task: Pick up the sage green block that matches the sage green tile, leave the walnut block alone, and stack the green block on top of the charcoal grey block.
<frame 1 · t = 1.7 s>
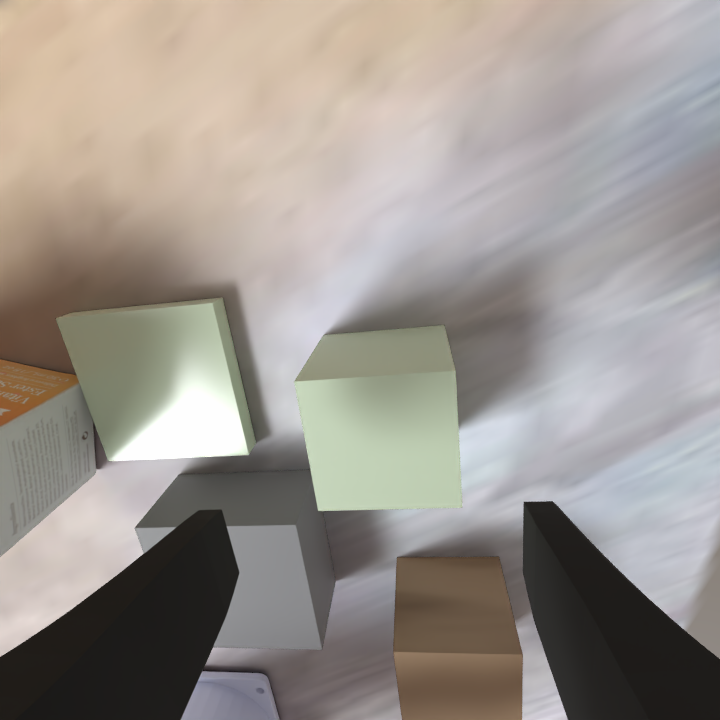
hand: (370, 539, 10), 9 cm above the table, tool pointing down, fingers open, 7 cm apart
sage green block: (388, 384, 19), on the table
walnut block: (449, 593, 23), on the table
charcoal base block: (261, 526, 23), on the table
small box: (23, 407, 22), on the table
sage green tile: (167, 380, 20), on the table
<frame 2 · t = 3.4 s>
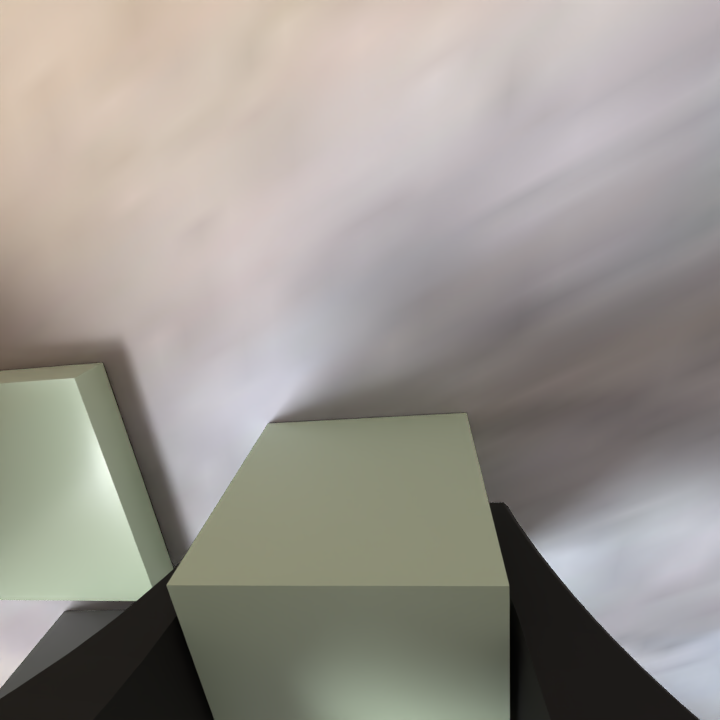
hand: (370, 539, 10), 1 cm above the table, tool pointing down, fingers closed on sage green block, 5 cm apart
sage green block: (374, 500, 12), on the table, touching gripper
charcoal base block: (192, 675, 16), on the table
sage green tile: (33, 482, 13), on the table
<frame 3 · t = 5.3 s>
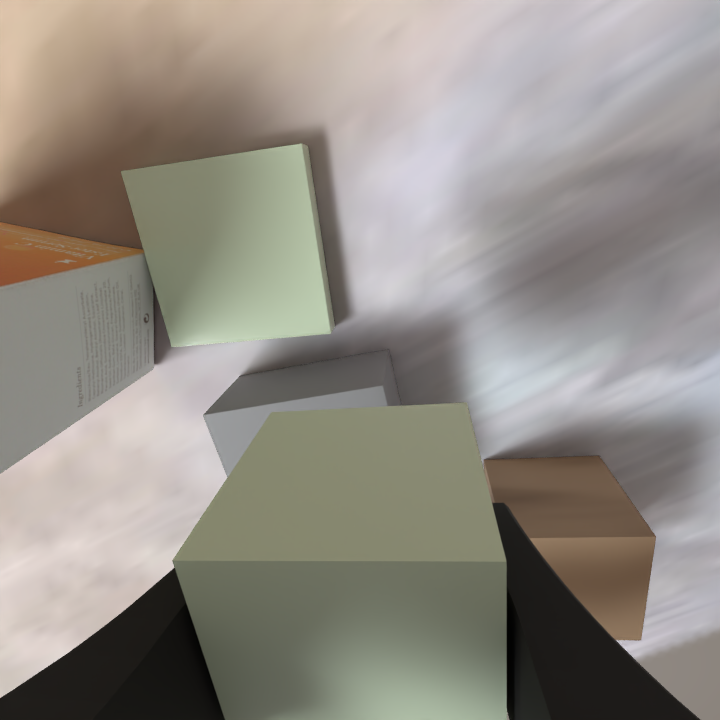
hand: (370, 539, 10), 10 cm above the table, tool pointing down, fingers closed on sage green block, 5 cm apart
sage green block: (375, 489, 12), point 8 cm above the table, touching gripper
walnut block: (538, 501, 21), on the table
charcoal base block: (332, 428, 21), on the table
small box: (75, 294, 20), on the table
sage green tile: (239, 252, 18), on the table
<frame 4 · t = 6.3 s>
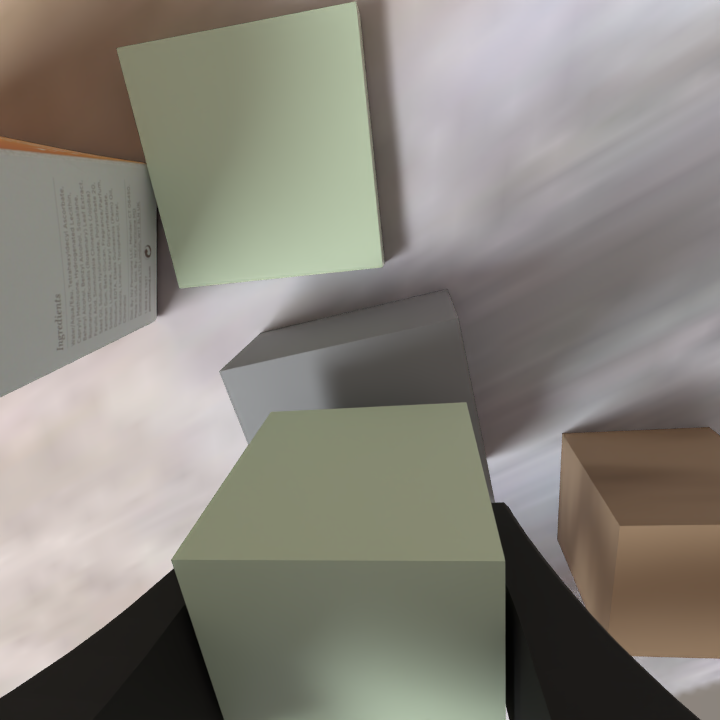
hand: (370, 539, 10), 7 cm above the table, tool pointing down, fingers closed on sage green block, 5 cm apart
sage green block: (375, 489, 12), point 5 cm above the table, touching gripper
walnut block: (626, 485, 17), on the table
charcoal base block: (374, 395, 17), on the table
small box: (59, 227, 16), on the table
sage green tile: (266, 165, 14), on the table
when the fingers open (6 cm above the table, at t = 7.3 s): sage green block drops 1 cm, point 4 cm above the table.
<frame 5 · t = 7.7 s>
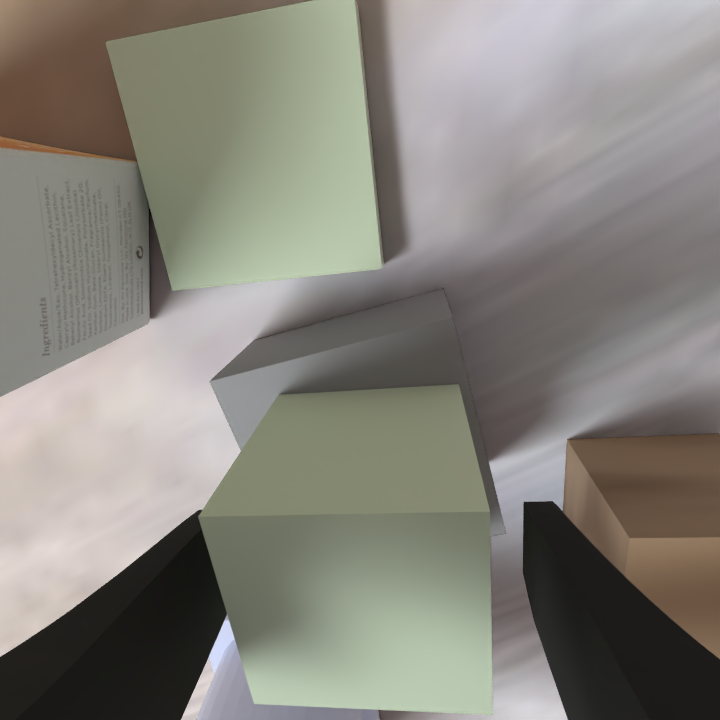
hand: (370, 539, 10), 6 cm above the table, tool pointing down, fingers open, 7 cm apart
sage green block: (375, 466, 13), point 4 cm above the table
walnut block: (632, 493, 17), on the table
charcoal base block: (373, 400, 17), on the table
small box: (49, 227, 16), on the table
sage green tile: (261, 163, 14), on the table
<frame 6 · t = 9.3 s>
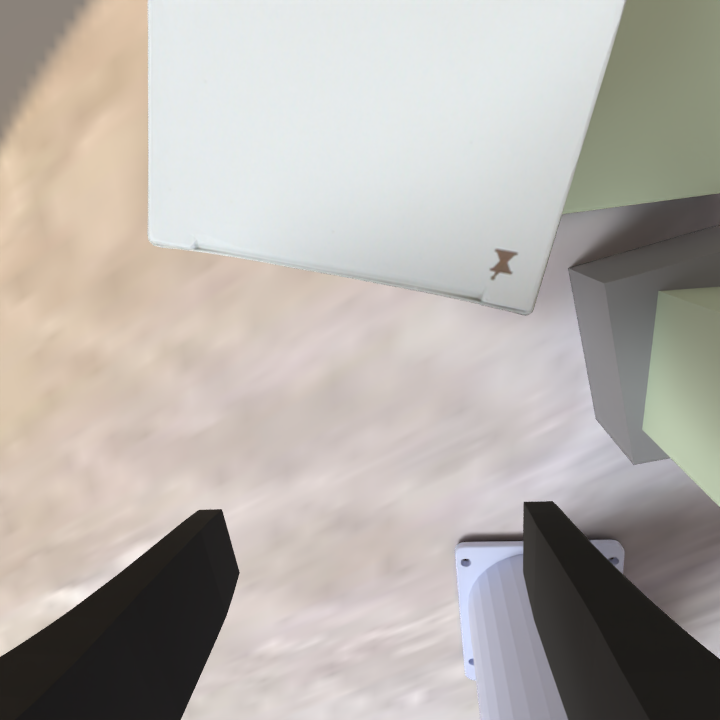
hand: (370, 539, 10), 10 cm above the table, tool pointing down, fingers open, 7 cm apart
charcoal base block: (669, 323, 18), on the table, touching sage green block
small box: (393, 170, 18), on the table
sage green tile: (618, 102, 16), on the table
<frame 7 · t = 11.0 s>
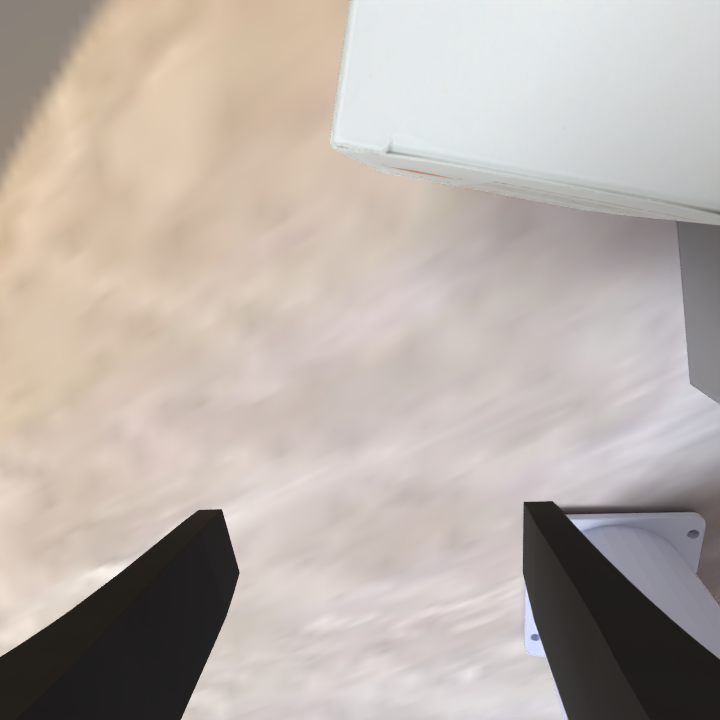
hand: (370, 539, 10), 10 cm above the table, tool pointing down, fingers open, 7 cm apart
small box: (494, 113, 16), on the table
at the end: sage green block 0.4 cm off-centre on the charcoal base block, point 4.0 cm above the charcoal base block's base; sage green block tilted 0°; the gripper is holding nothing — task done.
